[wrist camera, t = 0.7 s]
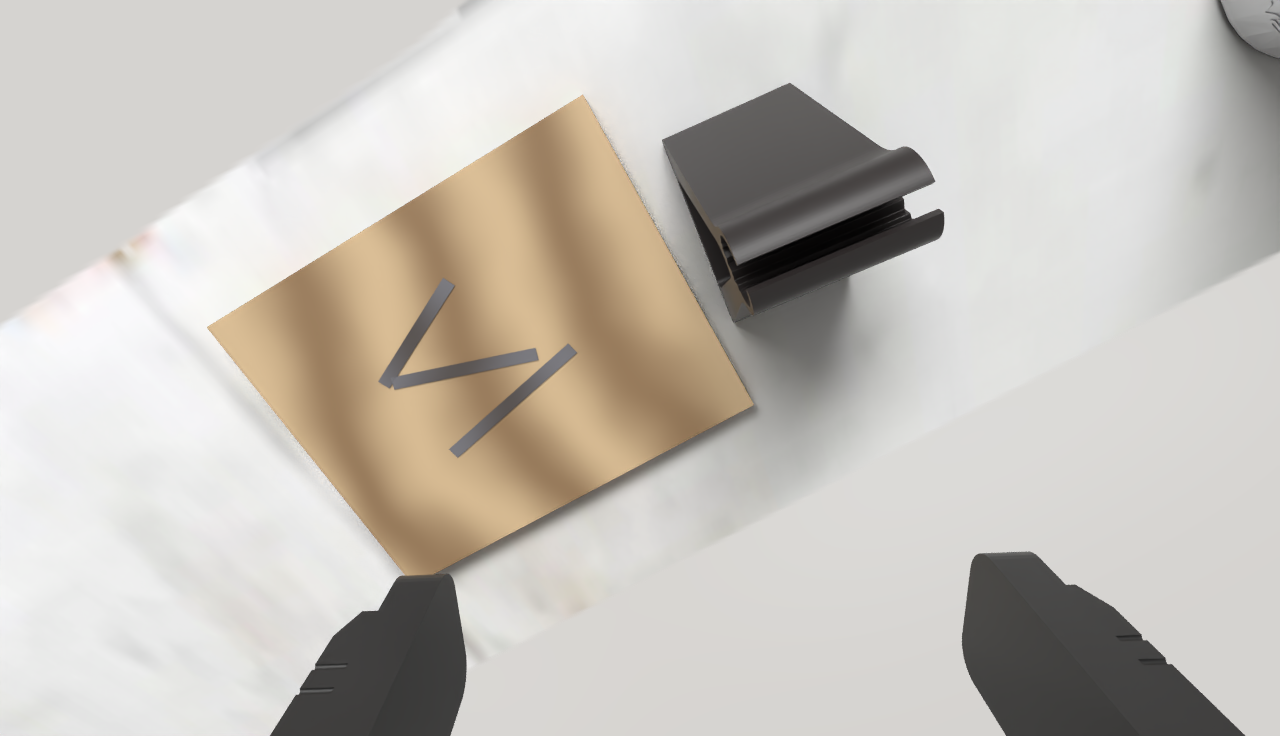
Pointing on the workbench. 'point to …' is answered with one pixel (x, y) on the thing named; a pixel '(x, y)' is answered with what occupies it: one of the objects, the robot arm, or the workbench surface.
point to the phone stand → (794, 198)
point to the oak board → (489, 347)
